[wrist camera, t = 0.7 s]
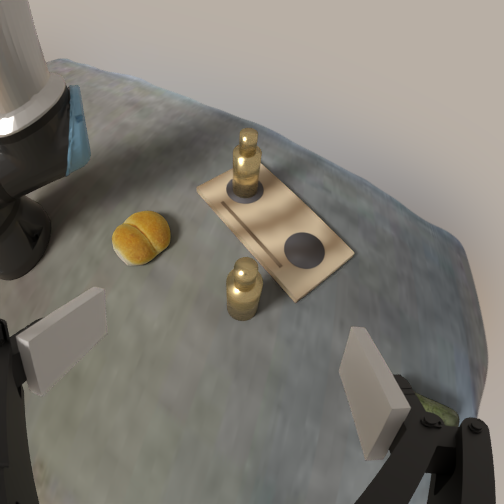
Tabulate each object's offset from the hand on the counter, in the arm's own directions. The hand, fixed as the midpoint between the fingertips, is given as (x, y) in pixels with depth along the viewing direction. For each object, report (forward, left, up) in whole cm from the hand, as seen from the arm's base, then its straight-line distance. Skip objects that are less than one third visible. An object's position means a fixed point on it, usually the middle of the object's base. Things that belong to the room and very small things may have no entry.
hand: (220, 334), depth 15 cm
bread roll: (-24, +2, -24) cm, 34 cm away
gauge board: (-15, +20, -24) cm, 34 cm away
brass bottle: (-7, +8, -24) cm, 26 cm away
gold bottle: (-22, +20, -23) cm, 37 cm away
